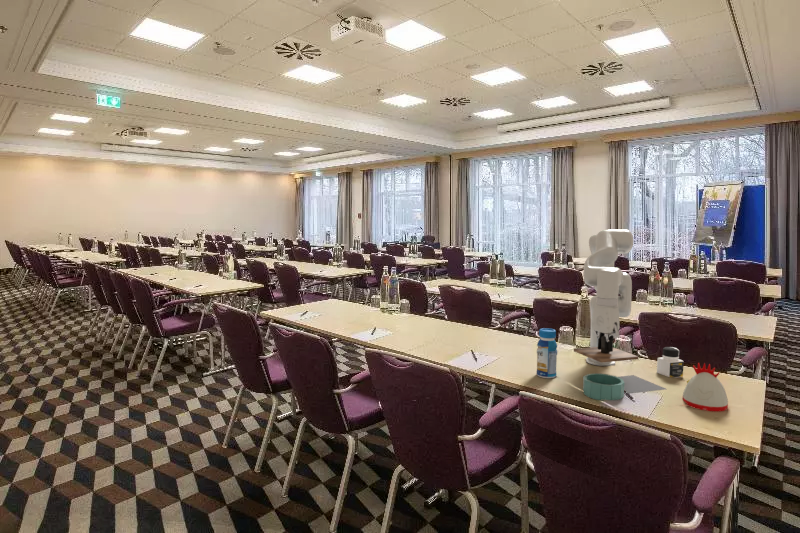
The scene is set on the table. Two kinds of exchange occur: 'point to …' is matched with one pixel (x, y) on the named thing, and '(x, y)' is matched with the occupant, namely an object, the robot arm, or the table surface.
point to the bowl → (603, 387)
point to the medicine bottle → (670, 363)
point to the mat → (638, 384)
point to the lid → (605, 353)
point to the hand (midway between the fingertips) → (605, 349)
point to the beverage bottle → (546, 353)
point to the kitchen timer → (705, 391)
